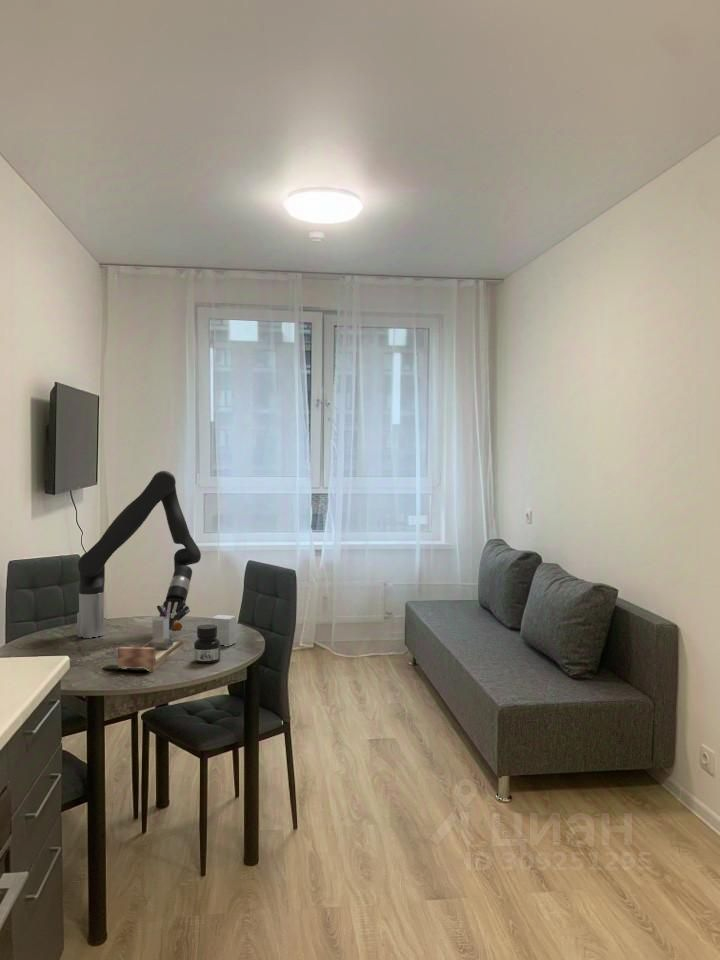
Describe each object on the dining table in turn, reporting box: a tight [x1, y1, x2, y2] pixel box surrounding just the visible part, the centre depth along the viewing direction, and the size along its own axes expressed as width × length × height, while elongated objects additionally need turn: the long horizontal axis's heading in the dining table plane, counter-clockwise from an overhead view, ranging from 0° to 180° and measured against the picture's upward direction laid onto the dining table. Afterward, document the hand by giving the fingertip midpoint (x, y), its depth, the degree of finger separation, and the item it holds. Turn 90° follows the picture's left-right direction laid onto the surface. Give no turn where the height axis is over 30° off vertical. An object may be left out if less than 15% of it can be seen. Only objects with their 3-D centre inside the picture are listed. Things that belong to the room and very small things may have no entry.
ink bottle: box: [193, 623, 221, 665], centre depth 249 cm, size 10×9×12 cm
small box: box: [210, 614, 237, 647], centre depth 271 cm, size 8×6×10 cm
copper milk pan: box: [117, 640, 185, 673], centre depth 253 cm, size 12×32×8 cm, turn 176°
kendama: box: [159, 608, 183, 631], centre depth 301 cm, size 6×6×20 cm
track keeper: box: [148, 616, 174, 649], centre depth 261 cm, size 7×6×10 cm
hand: (168, 628), depth 268 cm, fingers closed
